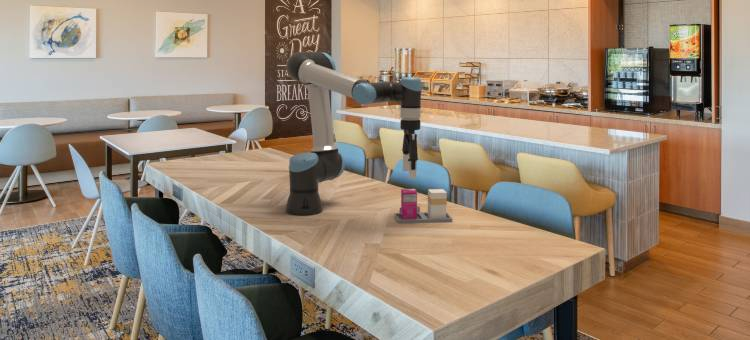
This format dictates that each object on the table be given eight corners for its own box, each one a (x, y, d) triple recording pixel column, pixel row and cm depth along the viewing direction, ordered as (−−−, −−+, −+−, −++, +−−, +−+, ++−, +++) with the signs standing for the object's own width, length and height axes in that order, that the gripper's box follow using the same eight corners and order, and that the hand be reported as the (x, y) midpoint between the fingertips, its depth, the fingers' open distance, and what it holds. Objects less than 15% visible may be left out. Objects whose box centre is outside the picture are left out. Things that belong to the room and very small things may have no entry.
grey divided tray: (398, 225, 219) (398, 220, 218) (394, 218, 229) (394, 213, 228) (452, 224, 221) (452, 218, 221) (446, 217, 231) (446, 211, 231)
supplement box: (400, 217, 227) (401, 188, 225) (415, 217, 227) (416, 188, 225) (401, 221, 221) (402, 192, 219) (417, 221, 221) (417, 192, 219)
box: (430, 220, 222) (431, 193, 220) (427, 216, 228) (428, 189, 226) (446, 220, 223) (447, 192, 221) (442, 216, 229) (443, 189, 226)
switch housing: (399, 215, 233) (399, 207, 233) (407, 211, 238) (407, 204, 238) (412, 217, 230) (412, 210, 230) (419, 214, 235) (419, 206, 235)
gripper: (427, 122, 205) (425, 181, 209) (414, 115, 229) (413, 167, 233) (406, 123, 204) (404, 181, 208) (395, 115, 228) (394, 168, 233)
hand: (409, 174), depth 221 cm, fingers open, 13 cm apart
